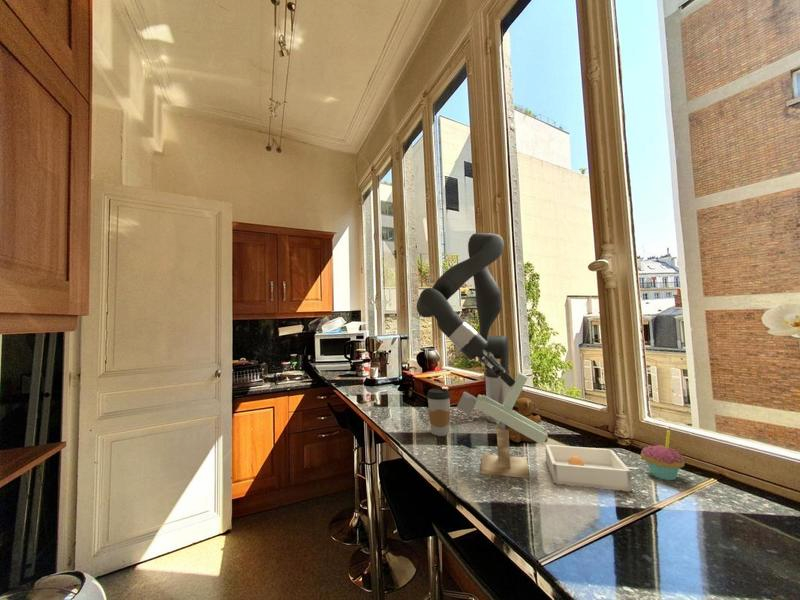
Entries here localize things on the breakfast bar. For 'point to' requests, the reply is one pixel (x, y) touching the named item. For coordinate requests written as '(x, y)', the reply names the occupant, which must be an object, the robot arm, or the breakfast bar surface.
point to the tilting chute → (505, 411)
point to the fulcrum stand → (504, 459)
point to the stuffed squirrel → (526, 410)
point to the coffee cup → (439, 411)
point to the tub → (588, 468)
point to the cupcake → (663, 460)
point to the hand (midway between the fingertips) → (512, 384)
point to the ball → (575, 461)
